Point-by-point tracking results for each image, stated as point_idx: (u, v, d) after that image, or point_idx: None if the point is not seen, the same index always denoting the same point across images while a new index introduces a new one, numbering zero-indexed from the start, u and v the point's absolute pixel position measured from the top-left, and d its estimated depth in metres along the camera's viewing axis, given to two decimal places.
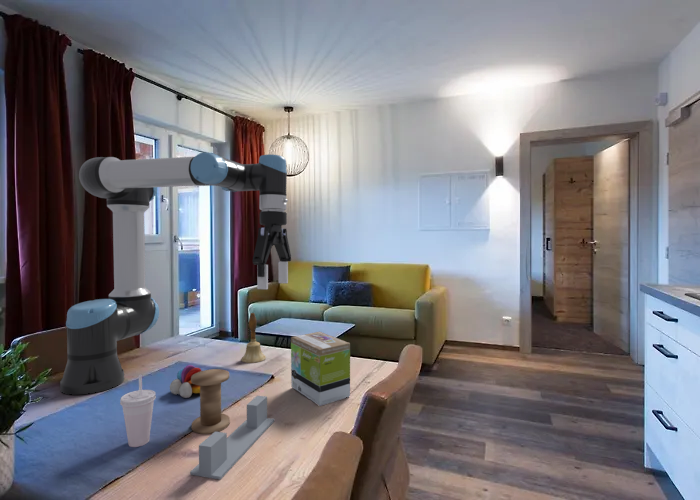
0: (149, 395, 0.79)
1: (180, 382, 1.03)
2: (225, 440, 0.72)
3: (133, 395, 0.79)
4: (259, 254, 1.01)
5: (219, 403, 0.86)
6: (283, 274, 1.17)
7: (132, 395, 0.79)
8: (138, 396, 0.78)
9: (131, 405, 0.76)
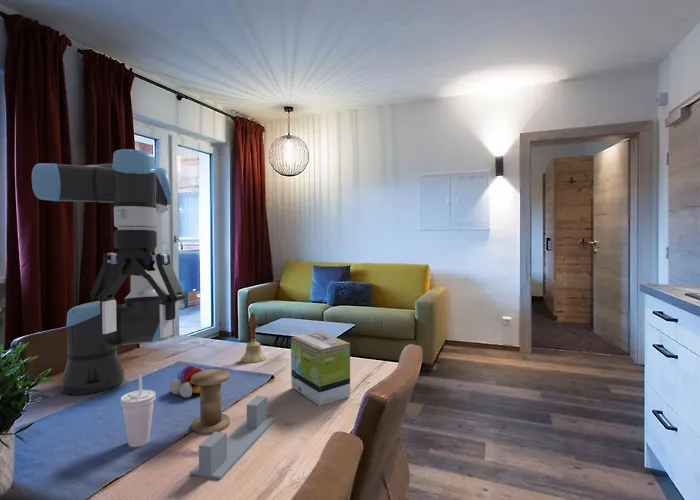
0: (149, 395, 0.79)
1: (180, 382, 1.03)
2: (225, 440, 0.72)
3: (133, 395, 0.79)
4: None
5: (219, 403, 0.86)
6: None
7: (132, 395, 0.79)
8: (138, 396, 0.78)
9: (131, 405, 0.76)
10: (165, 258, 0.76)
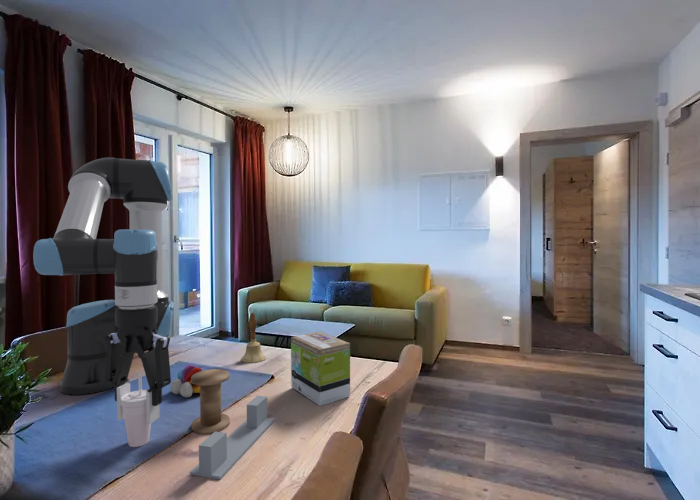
0: None
1: (181, 382, 1.03)
2: (225, 440, 0.72)
3: (133, 395, 0.79)
4: None
5: (219, 403, 0.86)
6: None
7: (132, 395, 0.79)
8: (138, 396, 0.78)
9: (131, 405, 0.76)
10: (165, 343, 0.77)
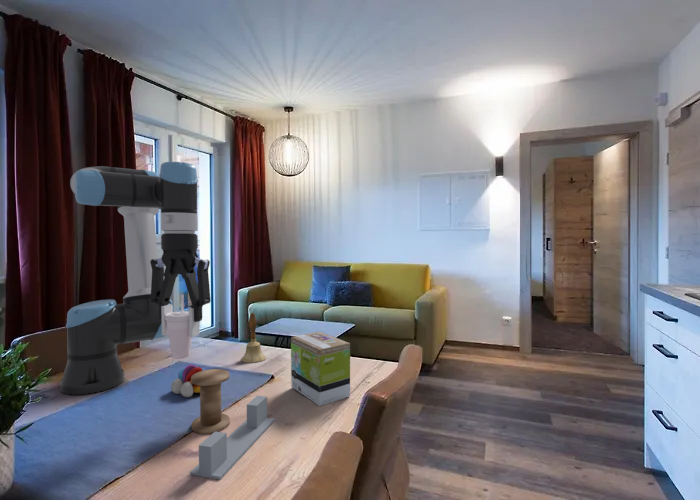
0: None
1: (181, 382, 1.04)
2: (225, 440, 0.72)
3: (176, 313, 0.87)
4: None
5: (219, 403, 0.86)
6: None
7: (175, 313, 0.87)
8: (180, 313, 0.87)
9: (175, 319, 0.85)
10: (205, 265, 0.86)
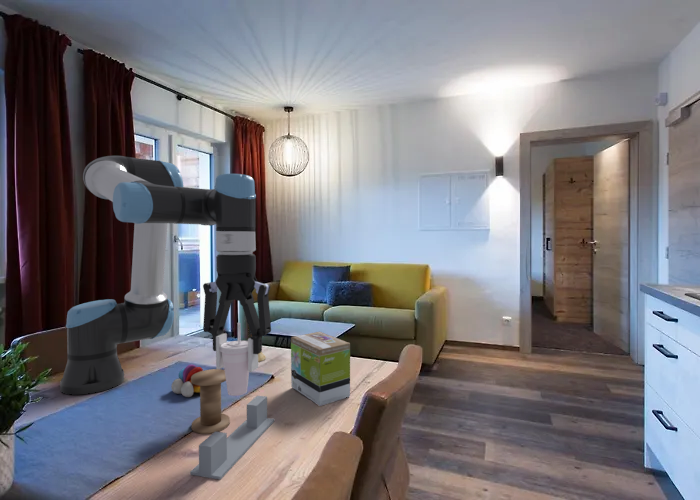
0: (247, 344, 0.78)
1: (182, 381, 1.04)
2: (225, 440, 0.72)
3: (232, 344, 0.77)
4: None
5: (219, 403, 0.86)
6: None
7: (231, 344, 0.77)
8: (238, 344, 0.77)
9: (233, 352, 0.75)
10: (266, 290, 0.76)
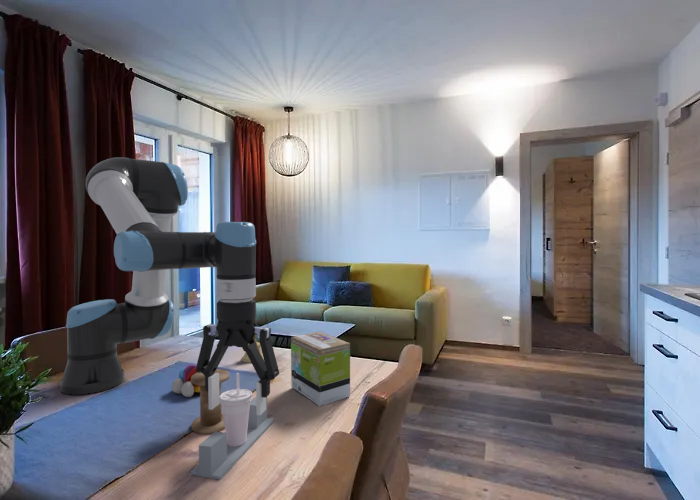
0: (246, 394, 0.79)
1: (182, 381, 1.04)
2: (225, 440, 0.72)
3: (231, 394, 0.78)
4: None
5: (219, 403, 0.86)
6: None
7: (230, 394, 0.78)
8: (237, 395, 0.77)
9: (232, 404, 0.75)
10: (267, 333, 0.76)
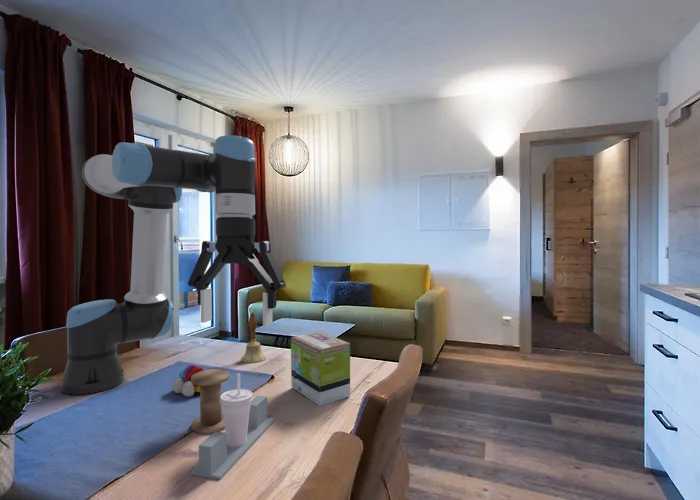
0: (247, 394, 0.78)
1: (182, 381, 1.04)
2: (225, 440, 0.72)
3: (231, 394, 0.78)
4: None
5: (219, 403, 0.86)
6: None
7: (230, 394, 0.78)
8: (237, 395, 0.77)
9: (233, 405, 0.75)
10: (267, 246, 0.76)
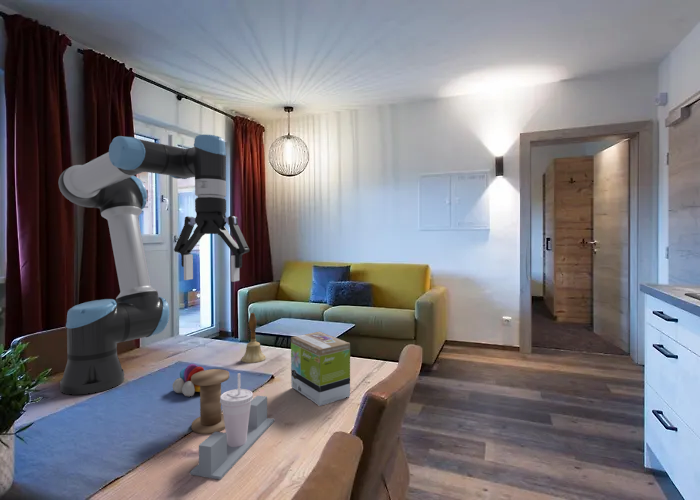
0: (247, 394, 0.78)
1: (183, 381, 1.04)
2: (225, 440, 0.72)
3: (232, 394, 0.78)
4: None
5: (219, 403, 0.86)
6: None
7: (231, 394, 0.78)
8: (237, 395, 0.77)
9: (233, 404, 0.75)
10: (235, 220, 0.98)
